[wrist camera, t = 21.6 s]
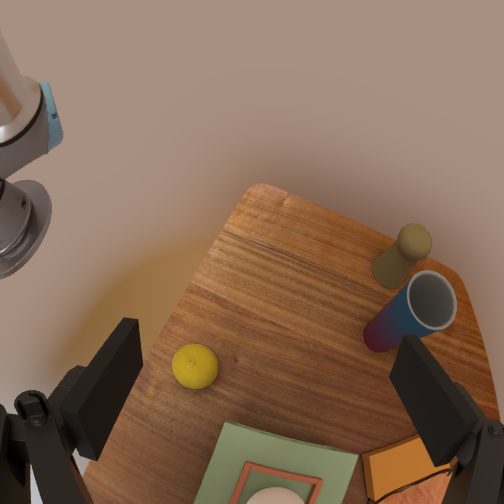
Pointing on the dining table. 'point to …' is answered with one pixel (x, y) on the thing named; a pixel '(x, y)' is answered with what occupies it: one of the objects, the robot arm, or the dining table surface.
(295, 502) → the egg
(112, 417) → the robot arm
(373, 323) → the cup
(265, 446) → the green side table
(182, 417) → the dining table surface
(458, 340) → the dining table surface
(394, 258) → the cork
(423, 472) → the salmon fillet board
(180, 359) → the lemon
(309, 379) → the dining table surface
